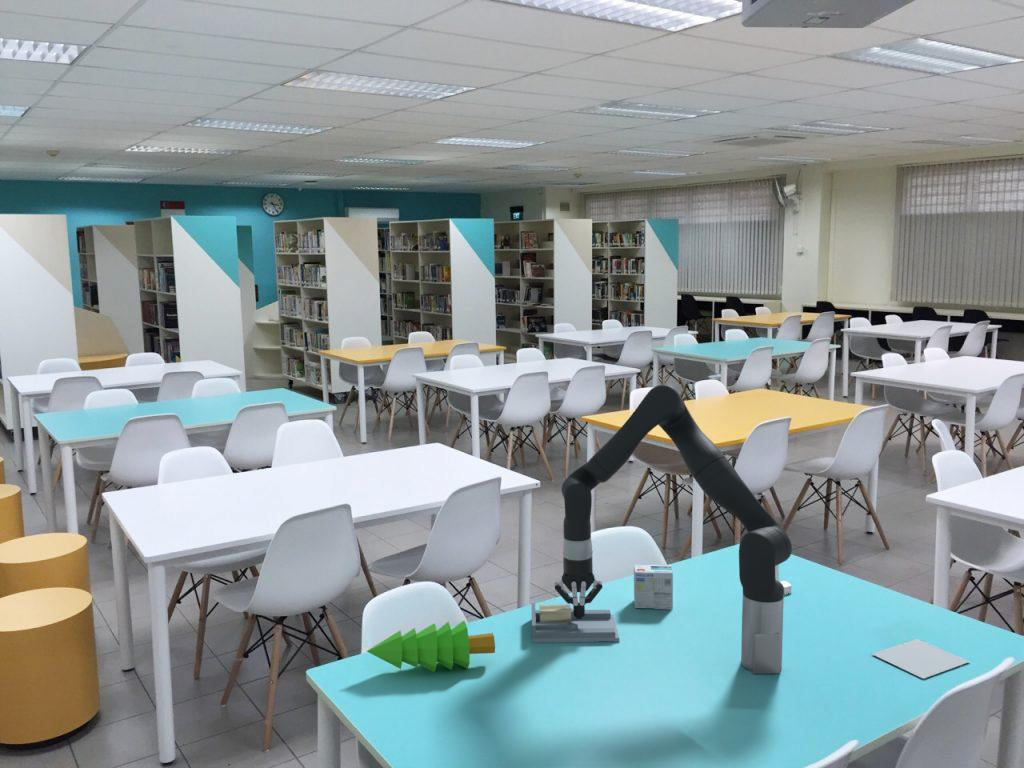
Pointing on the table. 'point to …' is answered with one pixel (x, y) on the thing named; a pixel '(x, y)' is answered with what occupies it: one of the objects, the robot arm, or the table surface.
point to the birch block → (555, 613)
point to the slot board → (588, 625)
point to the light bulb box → (653, 586)
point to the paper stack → (920, 658)
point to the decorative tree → (434, 647)
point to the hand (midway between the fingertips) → (579, 617)
